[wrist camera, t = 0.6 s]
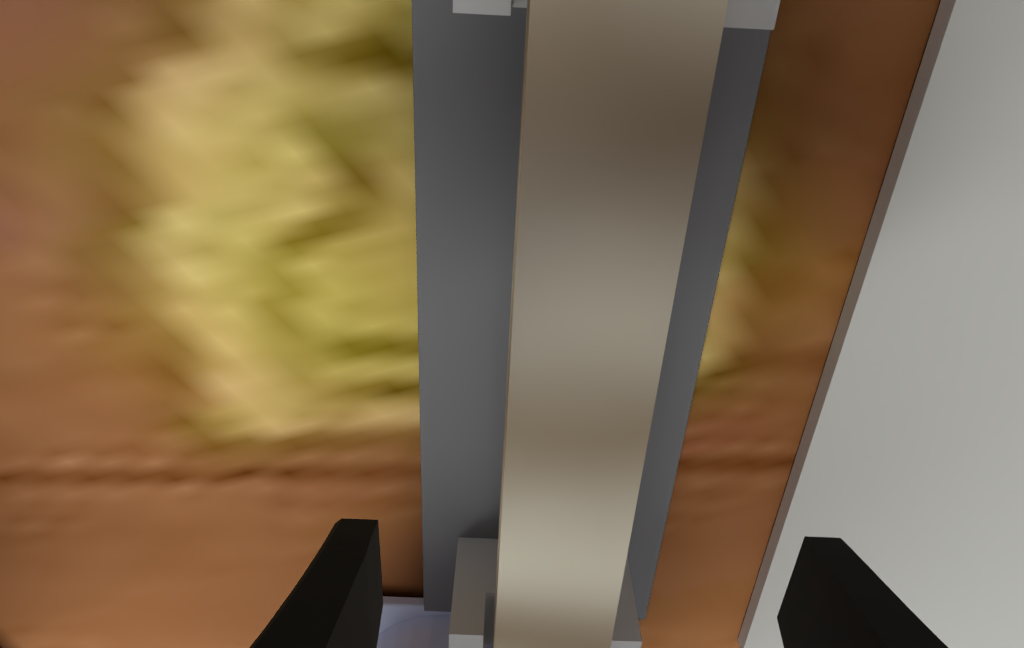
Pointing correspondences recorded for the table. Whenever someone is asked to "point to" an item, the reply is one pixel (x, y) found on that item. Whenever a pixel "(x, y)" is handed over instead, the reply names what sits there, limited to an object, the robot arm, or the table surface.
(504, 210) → the rack
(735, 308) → the table surface
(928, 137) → the mat
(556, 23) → the rail
